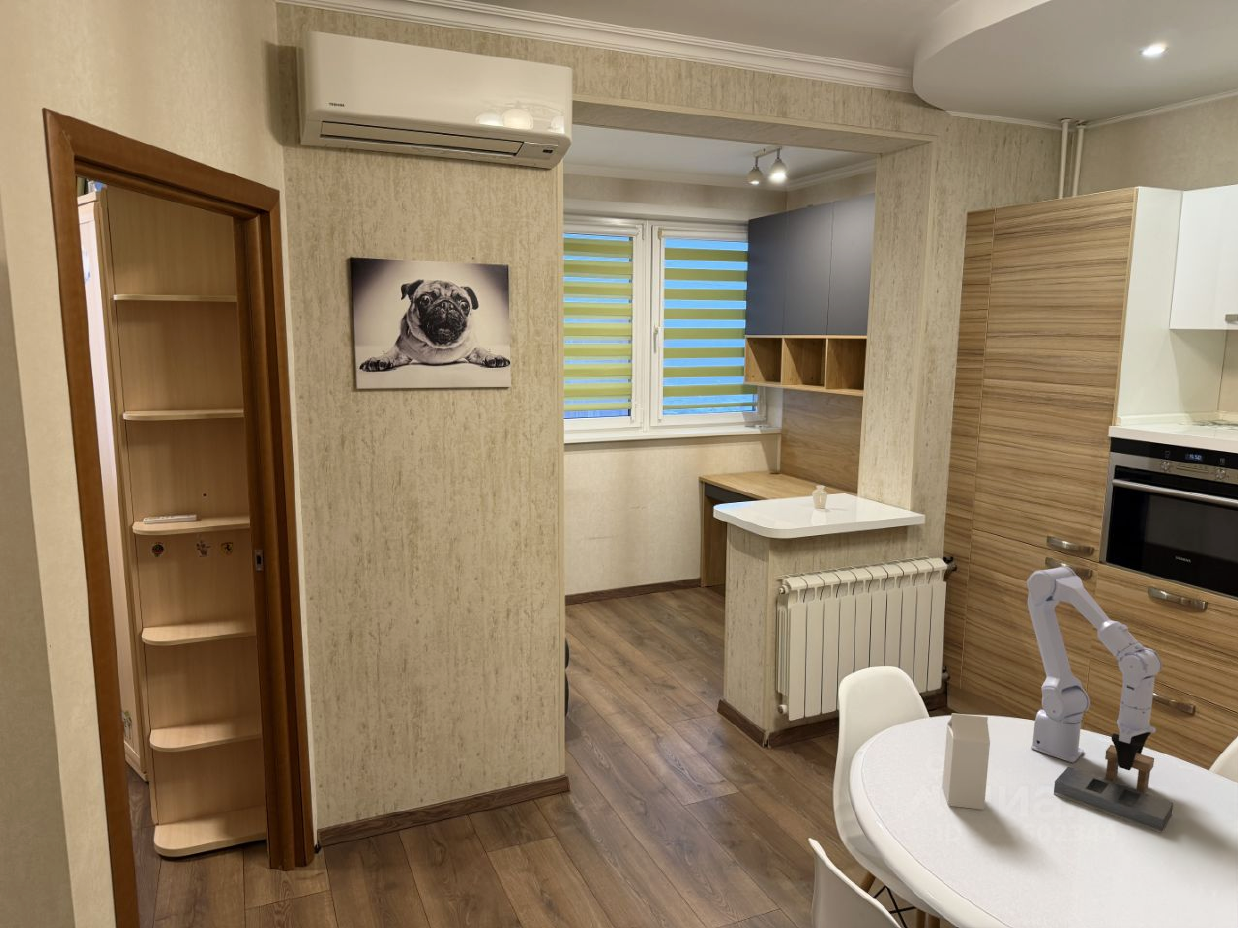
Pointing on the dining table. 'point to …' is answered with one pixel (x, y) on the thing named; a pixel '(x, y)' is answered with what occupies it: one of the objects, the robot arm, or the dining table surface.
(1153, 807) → the grey slotted block
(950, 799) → the milk carton
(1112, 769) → the wooden arch block
